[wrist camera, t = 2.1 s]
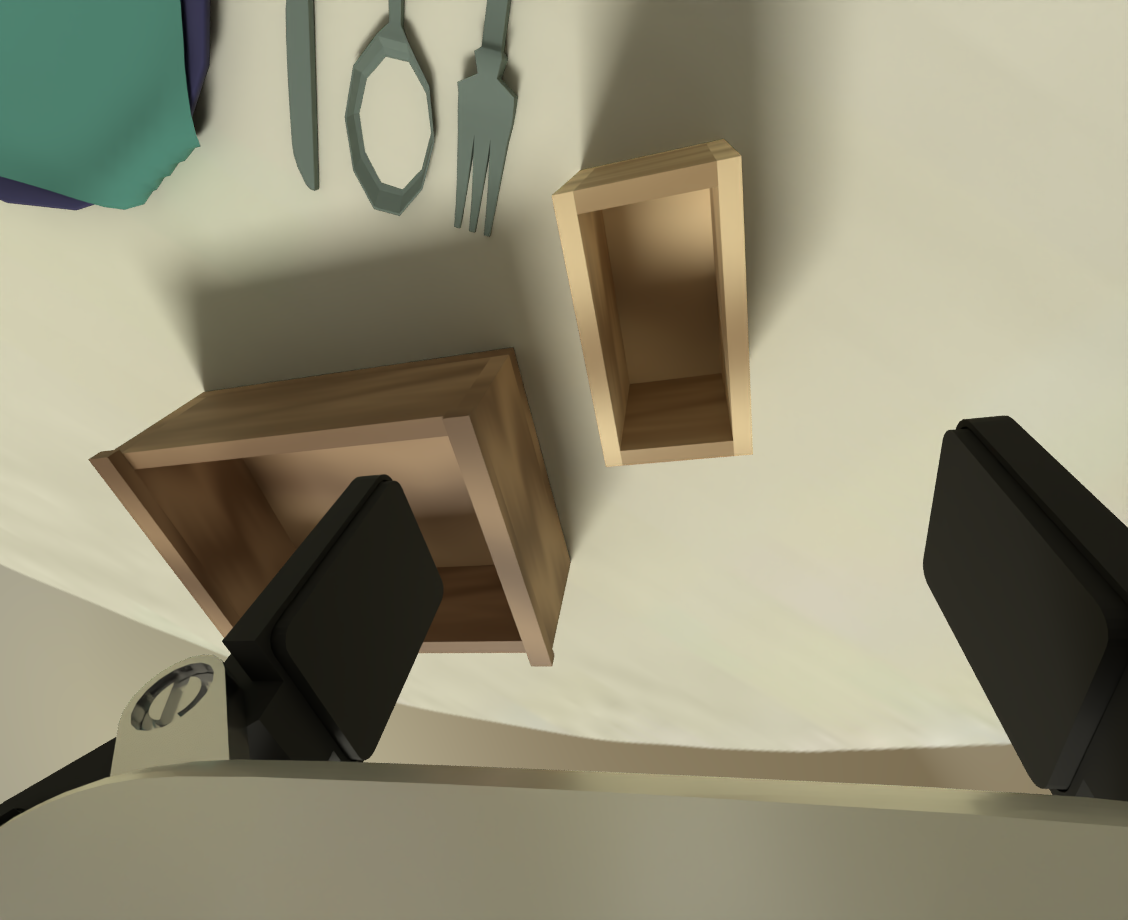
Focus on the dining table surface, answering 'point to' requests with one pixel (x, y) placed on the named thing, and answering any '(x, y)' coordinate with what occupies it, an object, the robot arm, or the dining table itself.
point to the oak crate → (662, 302)
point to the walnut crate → (327, 467)
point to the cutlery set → (171, 90)
